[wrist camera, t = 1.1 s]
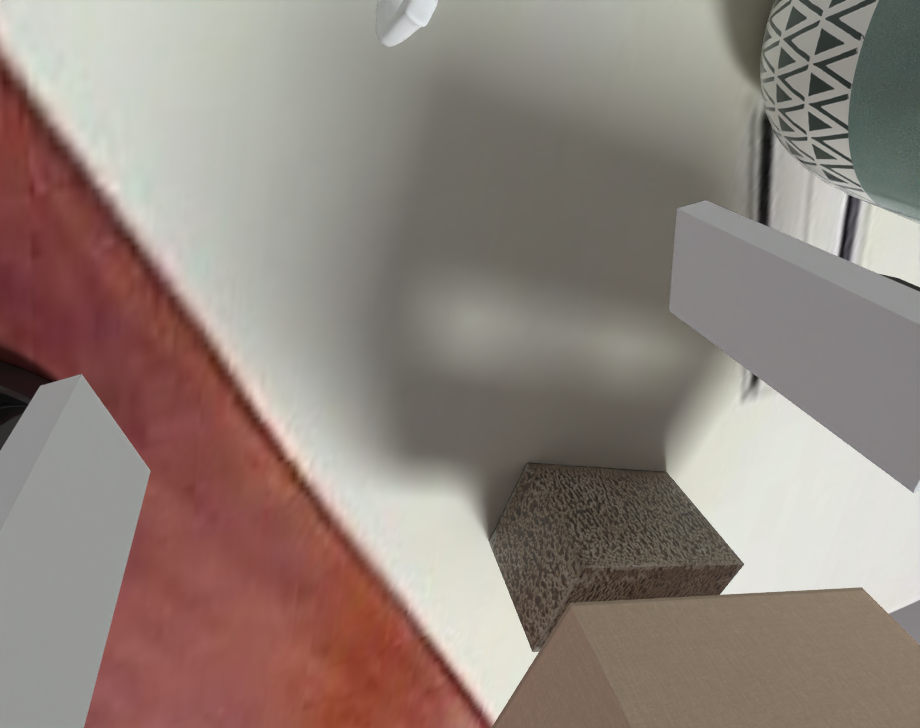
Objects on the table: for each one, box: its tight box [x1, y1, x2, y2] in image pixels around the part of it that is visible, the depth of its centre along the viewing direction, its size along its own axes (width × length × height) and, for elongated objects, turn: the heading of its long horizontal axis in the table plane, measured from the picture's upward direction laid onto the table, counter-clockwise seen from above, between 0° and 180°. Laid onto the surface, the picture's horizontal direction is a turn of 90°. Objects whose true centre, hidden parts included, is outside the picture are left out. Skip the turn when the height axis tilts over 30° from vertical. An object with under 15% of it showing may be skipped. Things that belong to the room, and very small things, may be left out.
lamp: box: [489, 463, 920, 728], centre depth 41 cm, size 29×18×41 cm, turn 72°
